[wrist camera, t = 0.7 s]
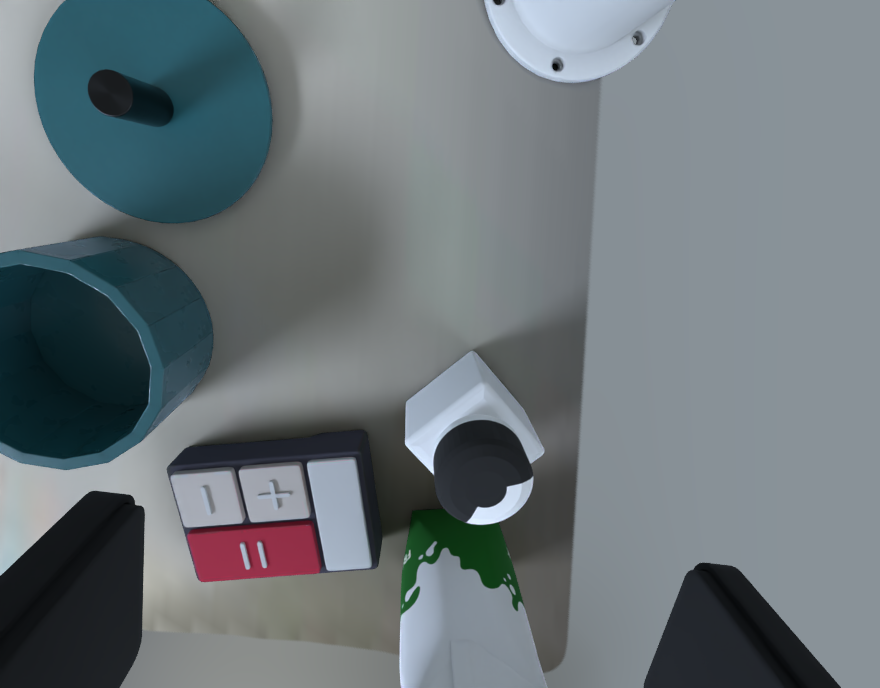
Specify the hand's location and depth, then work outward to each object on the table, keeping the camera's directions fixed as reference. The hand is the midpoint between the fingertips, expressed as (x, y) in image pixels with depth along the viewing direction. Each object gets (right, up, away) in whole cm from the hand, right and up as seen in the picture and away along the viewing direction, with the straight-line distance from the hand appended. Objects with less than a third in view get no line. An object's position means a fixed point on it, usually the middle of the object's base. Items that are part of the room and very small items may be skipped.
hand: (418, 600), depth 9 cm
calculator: (-13, -8, +35) cm, 38 cm away
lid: (-18, +20, +25) cm, 37 cm away
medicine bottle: (+2, -1, +33) cm, 33 cm away
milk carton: (+2, -13, +37) cm, 39 cm away
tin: (-24, +6, +29) cm, 38 cm away
